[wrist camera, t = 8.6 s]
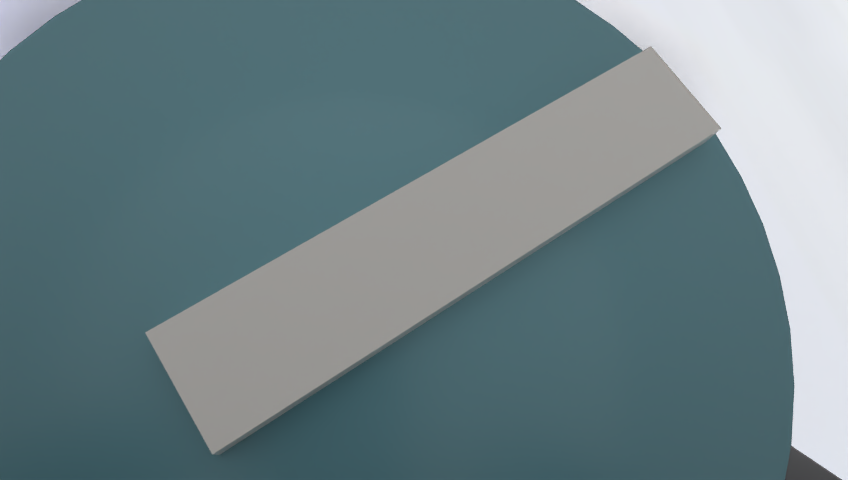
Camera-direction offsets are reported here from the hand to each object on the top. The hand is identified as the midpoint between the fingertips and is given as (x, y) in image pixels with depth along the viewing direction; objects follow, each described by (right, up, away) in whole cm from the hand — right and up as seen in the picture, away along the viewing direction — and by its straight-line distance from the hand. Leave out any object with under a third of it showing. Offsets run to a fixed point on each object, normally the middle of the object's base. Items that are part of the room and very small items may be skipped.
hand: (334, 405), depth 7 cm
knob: (-1, -3, +8) cm, 8 cm away
